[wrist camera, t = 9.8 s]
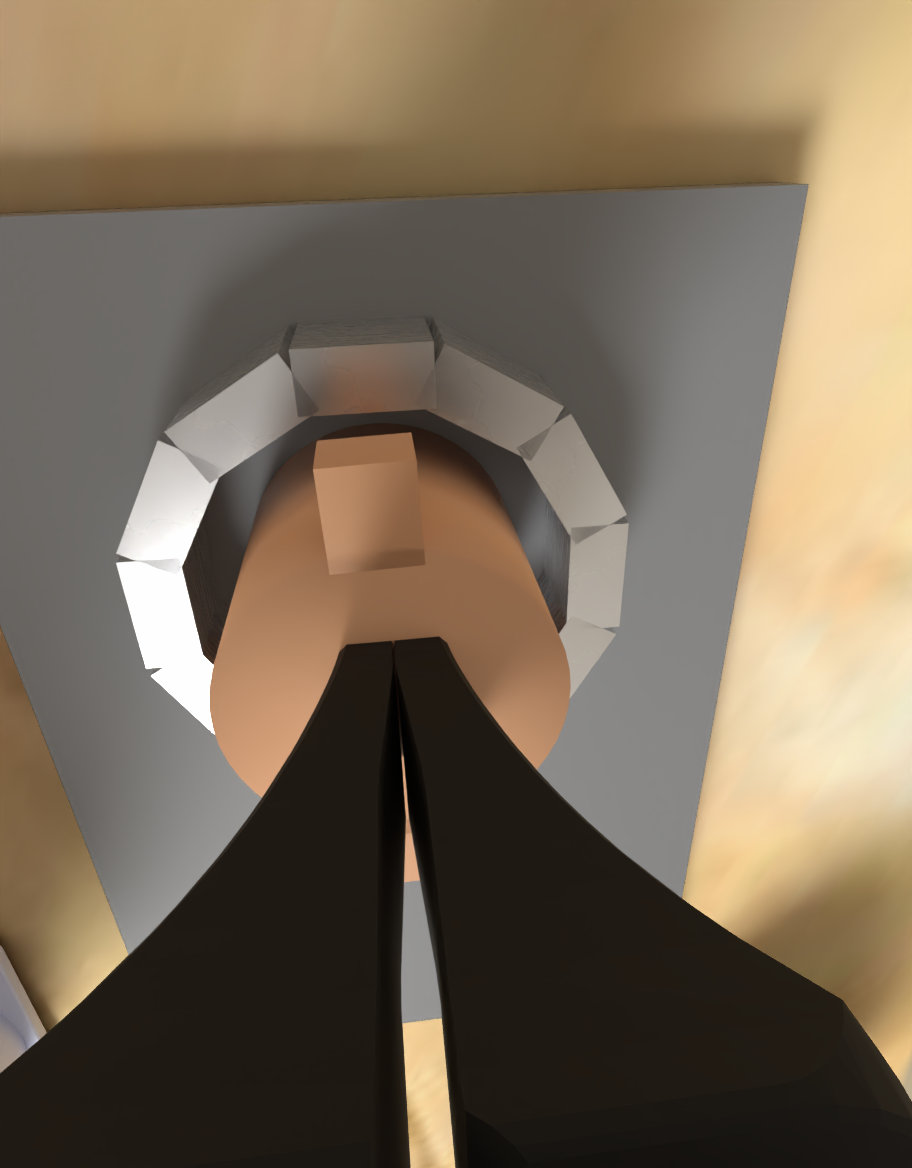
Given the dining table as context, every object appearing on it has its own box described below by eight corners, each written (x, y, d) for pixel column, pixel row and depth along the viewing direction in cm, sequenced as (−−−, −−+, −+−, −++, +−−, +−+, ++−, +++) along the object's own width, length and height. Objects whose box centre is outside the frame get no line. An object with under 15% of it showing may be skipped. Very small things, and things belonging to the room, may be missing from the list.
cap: (286, 705, 17) (260, 901, 12) (215, 373, 13) (143, 485, 9) (513, 679, 17) (566, 860, 13) (505, 349, 13) (576, 444, 9)
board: (174, 1020, 23) (167, 1053, 22) (-121, 218, 12) (-157, 223, 11) (654, 959, 24) (665, 989, 23) (779, 182, 13) (808, 184, 13)
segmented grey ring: (201, 733, 17) (184, 800, 15) (100, 332, 12) (59, 362, 11) (582, 697, 17) (607, 757, 16) (607, 306, 13) (646, 329, 11)
